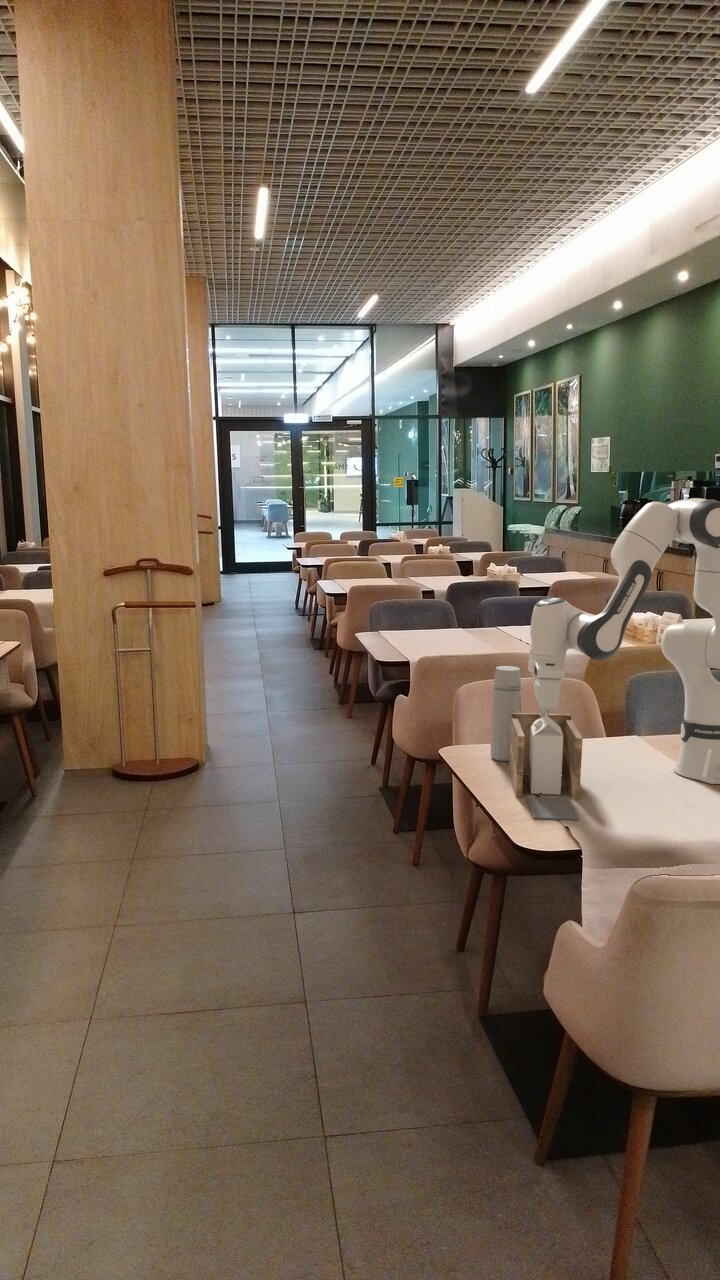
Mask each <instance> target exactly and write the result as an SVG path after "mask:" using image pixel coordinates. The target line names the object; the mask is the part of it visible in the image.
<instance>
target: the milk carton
mask: <svg viewBox="0 0 720 1280" xmlns="http://www.w3.org/2000/svg"><path fill="white" fill-rule="evenodd" d="M562 754H563V734H562V731H561V728H560V726H559V725H558V724H556V723H555V722H554V721H553V720H552V719H551V718H549V717H548V714H547V711H546V715H545V716H543V717H542V718H541V719H537V720H536V721H535V722H534V723H533V725H532V726H531V736H530V762H529V775H528V786H529V792H530V794H531V795H533V794H534V795H535V794H536V795H540V794H539V793H542V794H541V795H560V796H561V791H562V776H561V775H562Z"/></svg>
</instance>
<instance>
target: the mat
mask: <svg viewBox="0 0 720 1280" xmlns="http://www.w3.org/2000/svg"><path fill="white" fill-rule="evenodd" d="M525 797H526V801H527V804H528V807H529V808H528V809H529V811H530V814H531V817H532V819H533V820H550V821H551V820H552V821H553V820H555V821H556V820H558V821H579V818H578V816H577V813H576V810H575V807H574V806H573V804H572V802H571V800H570V798H569V797H547V796H546V797H545V796H525Z"/></svg>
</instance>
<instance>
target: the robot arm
mask: <svg viewBox="0 0 720 1280" xmlns="http://www.w3.org/2000/svg"><path fill="white" fill-rule="evenodd" d="M672 542H678V543H679V542H680V543H683V544H692V545H694V547H695V550H696V561H695V570H694V582H693V599H694V601H695V604H696V605H698V607H700V608H701V609H703V610H704V611H706V612H708V613H709V614H710V615H711V617H712V619H713V621H714V624H707V623H696V622H695V623H694V622H679V623H672V624H670V625H669V626H668V627H666V628H665V630H664V631H663V634H662V636H661V638H660V649H661V652H662V655H664V657H665V658H666V660H667V661H669V662H670V664H672V665H673V666H674V667H675V669H676V670H677V672H678V674H679V676H680V678H681V681H682V684H683V687H684V714H683V715H684V716H683V717H682V720H681V725H680V739H681V741H680V742H681V743H680V746H679V752H678V755H677V758H676V763H675V765H674V768H673V771H674V772H675V773H676V774H678V775H680V776H682V777H685V778H688V779H692V780H698V781H701V782H704V783H706V784H711V785H720V681H718V680H717V679H716V678H715V677H714V675H713V674H712V672H711V669H717V670H718V669H719V670H720V501H718V500H716V499H709V498H708V499H706V498H699V497H697V498H696V497H694V498H693V497H692V498H686V499H682V498H681V499H680V498H678V499H673V500H671V501H668V502H666V503H665V502H660V501H651V502H647V503H646V504H645V505H643V507H641V509H639V511H638V512H636V513H635V515H634V516H633V517H632V518H631V520H630V521H628V524H626V526H625V527H624V529H623V530H622V532H621V533H620V534H619V535H618V537H617V539H616V540H615V543H614V545H613V546H612V549H611V552H610V560H611V564H612V567H613V568H614V570H615V571H616V572H617V574H618V582H617V586H616V588H615V590H614V591H613V593H612V595H611V596H610V598H609V600H608V602H607V604H606V606H605V607H604V609H603V610H602V611H601V612H600V613H598V614H593V613H589V612H588V611H584V610H583V609H579V608H578V607H576V606H574V605H572V604H570V603H569V602H568V601H567V600H566V599H565V598H561V597H549V598H545V599H544V598H543V599H541V600H539V601H538V602H536V603H535V605H534V607H533V610H532V615H531V619H530V634H529V635H530V640H531V644H530V647H529V651H528V667H527V668H528V672H529V673H532V678H533V693H534V694H533V695H534V696H535V698H536V700H537V702H538V709H539V713H540V719H541V718H542V717H543V716H545V715H546V711H547V714H550V711H557V710H558V707H559V702H560V695H561V687H562V680H564V679H565V673H566V663H567V661H566V660H567V651H568V650H571V649H572V650H574V651H576V652H579V653H581V654H584V655H585V656H586V657H588V658H590V659H592V660H597V661H605V660H607V659H610V658H612V656H614V655H615V654H616V653H617V652H618V650H619V649H620V647H621V645H622V643H623V638H624V635H625V632H626V629H627V625H628V623H629V622H630V620H631V617H633V614H634V612H635V611H636V609H637V607H638V605H639V603H640V601H641V599H642V597H643V596H644V595H645V592H646V590H647V588H648V586H649V584H650V581H651V578H652V573H653V571H654V569H655V566H656V565H657V563H658V562H659V561H660V559H661V557H662V556H663V554H664V552H665V551H666V550H667V548H668V546H669V545H670V544H671V543H672Z"/></svg>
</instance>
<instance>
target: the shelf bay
mask: <svg viewBox="0 0 720 1280" xmlns="http://www.w3.org/2000/svg"><path fill="white" fill-rule="evenodd" d="M548 717H549V718H551V719H552V720H553V721H554V722H555V723H556V724H558V725H559V726H560V728H561V731H562V734H563V754H562V776H561V777H562V778H564V779H563V780H565V781H564V783H565V782H566V783H565V785H566V784H567V785H566V787H567V789H569V790H568V792H569V791H570V792H569V794H570V793H571V794H570V797H571V798H572V800H580V793H581V792H580V790H581V776H582V775H581V772H582V760H583V759H582V758H583V757H582V755H583V737H582V735H581V733H580V731H579V730H578V728H577V726H576V725H575V723H574V722H573V720H572V714H571V713H567V714H566V713H549V714H548ZM537 719H540V712H539V713H538V712H537V713H535V712H521V713H511V734H510V758H509V761H508V763H509V764H508V775H509V778H510V782H511V785H512V789H513V793H514V796H515V798H523V785H524V783H523V781H524V775H523V774H529V762H530V736H531V726H532V725H533V723H534V722H535V721H536V720H537Z"/></svg>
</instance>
